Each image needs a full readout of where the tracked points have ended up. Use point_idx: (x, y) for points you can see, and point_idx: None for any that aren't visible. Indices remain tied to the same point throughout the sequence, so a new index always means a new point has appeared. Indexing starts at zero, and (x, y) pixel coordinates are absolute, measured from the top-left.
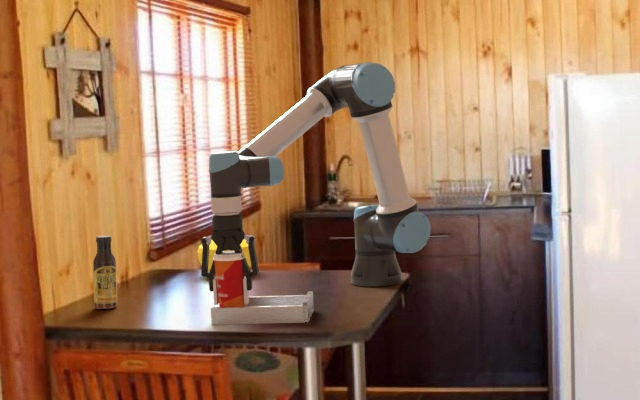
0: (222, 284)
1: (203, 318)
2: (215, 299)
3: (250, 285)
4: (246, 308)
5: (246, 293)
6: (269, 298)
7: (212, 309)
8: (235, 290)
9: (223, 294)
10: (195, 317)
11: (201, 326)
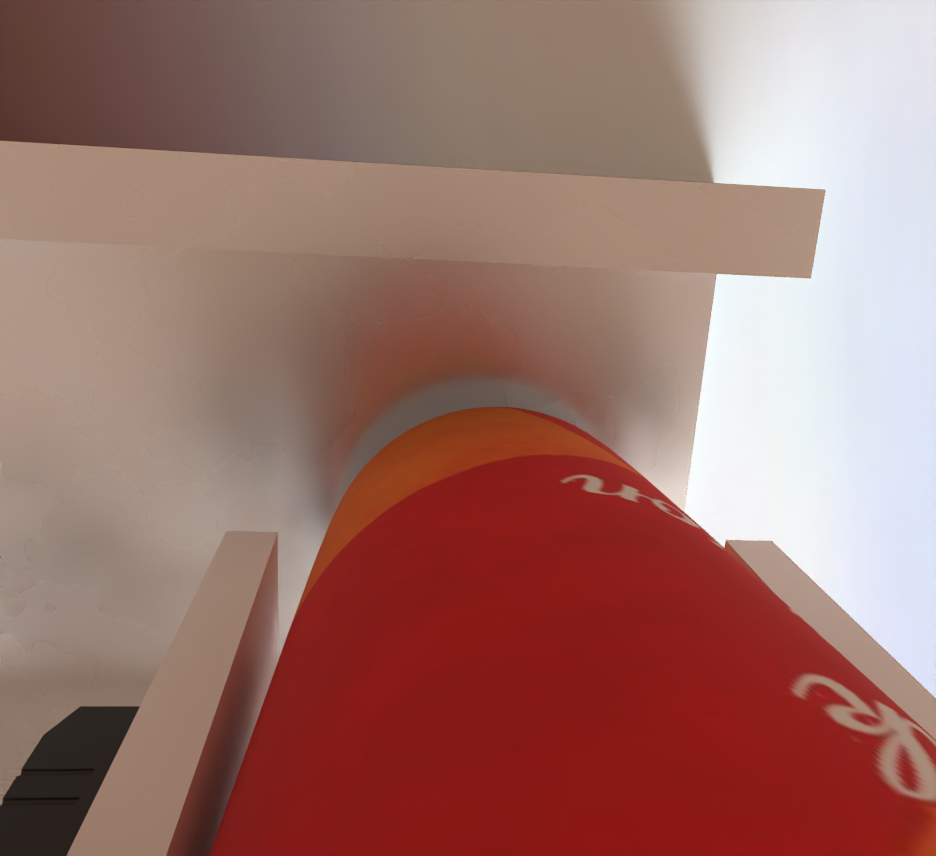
0: (769, 609)
1: (833, 553)
2: (786, 581)
3: (37, 785)
4: (158, 152)
5: (187, 625)
6: None
7: (785, 187)
8: (402, 556)
9: (666, 513)
10: (926, 612)
11: (843, 112)
